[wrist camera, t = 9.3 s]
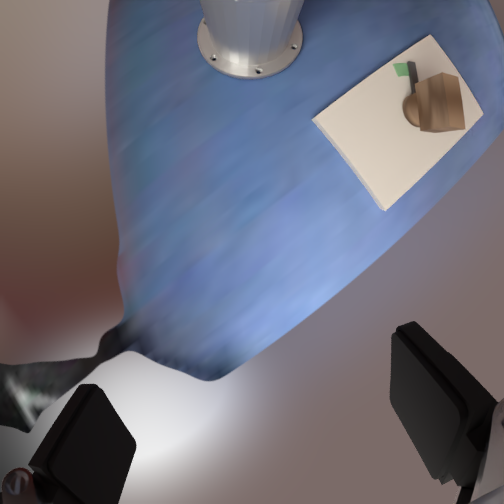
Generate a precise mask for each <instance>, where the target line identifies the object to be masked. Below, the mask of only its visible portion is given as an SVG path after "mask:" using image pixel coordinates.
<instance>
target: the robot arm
mask: <svg viewBox="0 0 504 504" xmlns="http://www.w3.org/2000/svg"><path fill="white" fill-rule="evenodd" d="M200 3H201V7H202V11H203V14H204V17H203V19H202V20H201V23H200V25H199V27H198V32H197V42H198V46H199V49H200V52H201V54H202V56H203V57H204V59H205V60H206V61H207V63H208V64H210V65H211V66H212V67H213V68H214V69H216V70H217V71H219V72H221V73H222V74H225V75H228V76H230V77H234V78H239V79H249V80H253V79H262V78H266V77H270V76H273V75H275V74H277V73H280V72H281V71H283V70H284V69H286V68H287V67H289V65H290V64H291V63H292V62H293V61H294V60H295V59H296V57H297V55H298V54H299V52H300V49H301V46H302V41H303V34H302V29H301V25H300V23H299V21H298V16H299V14H300V11H301V8H302V6H303V3H304V0H200ZM291 48H294V49H295V50H293V49H291ZM213 59H216V60H215V61H212V60H213ZM258 71H259V72H260V74H257V73H256V72H258ZM391 339H392V340H391V341H392V342H391V343H392V344H391V381H390V401H391V405H392V407H393V408H394V410H395V412H396V414H397V415H398V417H399V419H400V420H401V422H402V424H403V426H404V428H405V429H406V431H407V433H408V435H409V436H410V438H411V440H412V442H413V444H414V445H415V447H416V449H417V451H418V453H419V455H420V456H421V458H422V460H423V462H424V463H425V466H426V467H427V469H428V471H429V473H430V475H431V476H432V478H433V479H439V480H440V482H441V484H442V485H443V484H445V483H447V482H448V481H450V480H452V479H454V481H455V482H456V484H457V486H459V487H458V490H457V493H456V497H455V500H454V502H453V504H504V398H503V399H502V400H501V401H500V402H497V401H496V400H495V399H494V398H493V397H492V396H491V395H490V393H489V392H488V391H487V390H486V389H485V388H484V387H483V386H482V385H481V384H480V383H479V382H478V381H477V380H476V379H475V378H474V377H473V376H472V375H471V374H470V373H469V371H468V370H467V369H465V367H464V366H463V365H462V364H461V363H460V362H459V361H457V359H456V358H455V357H454V356H452V355H451V354H450V353H449V352H447V351H446V350H444V348H443V347H441V346H440V345H439V344H438V343H437V342H436V341H435V340H434V339H433V338H432V337H431V336H430V335H429V334H428V333H427V332H426V331H425V330H424V329H423V328H422V327H421V326H420V325H419V324H418V323H416V322H415V321H413V322H409V323H407V324H404V325H401V326H398V327H397V328H396V332H395V333H393V334H392V337H391ZM135 451H136V441H135V439H134V438H133V437H132V435H131V433H130V432H129V431H128V429H127V428H126V426H125V425H124V423H123V422H122V420H121V419H120V417H119V415H118V414H117V412H116V411H115V409H114V408H113V406H112V404H111V403H110V401H109V400H108V398H107V396H106V394H105V393H104V391H103V390H102V389H101V388H99V387H98V386H97V385H96V384H81V385H79V386H78V388H77V389H76V391H75V392H74V394H73V395H72V397H71V398H70V400H69V401H68V402H67V404H66V405H65V407H64V408H63V410H62V411H61V413H60V415H59V416H58V418H57V419H56V420H55V422H54V424H53V425H52V427H51V428H50V430H49V432H48V433H47V434H46V436H45V438H44V439H43V441H42V443H41V444H40V446H39V448H38V449H37V451H36V452H35V454H34V456H33V457H32V459H31V460H30V462H29V464H28V465H29V466H30V467H31V468H32V470H33V471H34V473H33V474H32V473H31V472H30V471H29V470H28V469H25V468H20V467H19V468H15V469H13V470H11V471H10V472H8V473H7V474H6V476H5V477H4V479H3V481H2V492H1V493H0V504H118V503H119V499H120V496H121V493H122V490H123V487H124V484H125V481H126V477H127V474H128V472H129V469H130V466H131V463H132V459H133V457H134V454H135Z"/></svg>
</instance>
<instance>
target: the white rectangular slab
mask: <svg viewBox="0 0 504 504" xmlns="http://www.w3.org/2000/svg"><path fill="white" fill-rule="evenodd" d="M408 61H412V62H415V64H416V69H417V75H418V81H419V82H420V81H423V80H425V79H427V78H430V77H432V76H434V75H437V74H439V73H441V72H443V73H447V74H450V75H454V76H457V77H458V79H459V84H460V90H461V96H462V103H463V111H464V119H465V129H464V130H456V131H447V132H440V133H431V132H424V131H420V127H415V126H413V125H411V124H410V123H409V122H408V121H407V119H406V118H405V116H404V113H403V109H402V105H403V101H404V99H405V98H406V97H407V96H409V95H411V94H412V91H411V84H410V78H409V72H408V66H407V62H408ZM483 114H484V113H483V112H482V110H481V108H480V106H479V105H478V103H477V101H476V99H475V98H474V96H473V94H472V93H471V91H470V89H469V88H468V86H467V85H466V83H465V81H464V80H463V78H462V77H461V75H460V74H459V72H458V71H457V69H456V68H455V66H454V65H453V64H452V62H451V61H450V59H449V58H448V57H447V55H446V54H445V53H444V51H443V50H442V49H441V47H440V46H439V45H438V43H437V42H436V41H435V40H434V38H433V37H432V36H431V35H428V36H427V37H425V38H424V39H422V40H421V41H419V42H418V43H416V44H415V45H413V46H412V47H410V48H409V49H407V50H406V51H404V52H403V53H401V54H400V55H398V56H397V57H395V58H394V59H392V60H391V61H390V62H388V63H387V64H385V65H384V66H382V67H381V68H380V69H378V70H377V71H375V72H374V73H373V74H371V75H370V76H368V77H367V78H366V79H364V80H363V81H362V82H360V83H359V84H358V85H356V86H355V87H353V88H352V89H351V90H349V91H348V92H347V93H345V94H344V95H343V96H341V97H340V98H339V99H338V100H336V101H335V102H334V103H332V104H331V105H330V106H328V107H327V108H326V109H325V110H323V111H322V112H321V113H319V114H318V115H317V116H316V117H314V118H313V119H312V121H313V122H314V123H315V124H316V126H317V127H318V128H319V129H320V130H321V132H322V133H323V134H324V135H325V136H326V138H327V139H328V140H329V141H330V142H331V144H332V145H333V146H334V147H335V149H336V150H337V151H338V152H339V154H340V155H341V156H342V157H343V159H344V160H345V161H346V162H347V164H348V165H349V166H350V168H351V169H352V170H353V172H354V173H355V174H356V176H357V177H358V178H359V180H360V181H361V182H362V184H363V185H364V187H365V188H366V189H367V191H368V192H369V193H370V195H371V196H372V198H373V199H374V201H375V202H376V203H377V205H378V206H379V208H380V209H381V210H384V211H386V210H387V209H388V208H389V207H390V206H392V205H393V204H394V203H395V202H396V201H397V200H398V199H399V198H400V197H401V196H402V195H403V194H404V193H405V192H407V191H408V190H409V189H410V188H411V187H412V186H413V185H414V184H415V183H416V182H417V181H418V180H419V179H420V178H421V177H422V176H423V175H424V174H425V173H426V172H427V171H428V170H429V169H430V168H432V167H433V166H434V165H435V164H436V163H437V162H438V161H439V160H440V159H441V158H442V157H443V156H444V155H445V154H446V153H447V152H448V151H449V150H450V149H451V148H452V147H453V146H454V145H455V143H456V142H457V141H458V140H459V139H460V138H461V137H462V136H463V135H464V134H465V133H466V132H467V131H468V130H469V129H470V128H471V127H472V126H473V125H474V124H475V123H476V122H477V121H478V119H479V118H480V117H481V116H482V115H483Z"/></svg>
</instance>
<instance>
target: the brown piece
mask: <svg viewBox="0 0 504 504" xmlns="http://www.w3.org/2000/svg"><path fill="white" fill-rule="evenodd" d="M407 66H408V72H409V78H410V84H411V91H412V94H411V95H409V96H407V97H406V98H405V99H404V101H403V105H402V109H403V113H404V116H405V118H406V119H407V121H408V122H409V123H410V124H411V125H413V126H415V127H420V131H424V132H431V133H440V132H447V131H456V130H464V129H465V119H464V111H463V103H462V96H461V90H460V84H459V79H458V77H457V76H454V75H450V74H447V73H443V72H441V73H439V74H437V75H434V76H432V77H430V78H427V79H425V80H423V81H420V82H419V81H418V75H417V69H416V64H415V62H412V61H408V62H407Z"/></svg>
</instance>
